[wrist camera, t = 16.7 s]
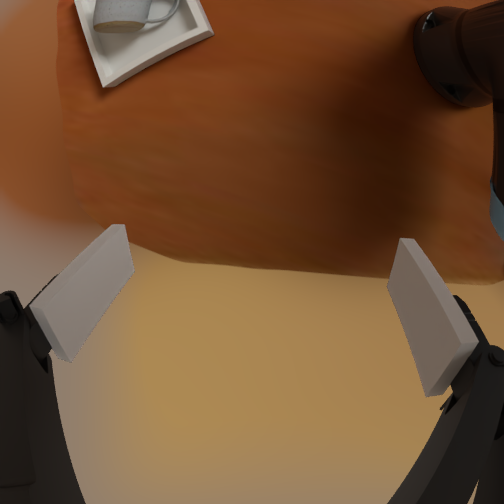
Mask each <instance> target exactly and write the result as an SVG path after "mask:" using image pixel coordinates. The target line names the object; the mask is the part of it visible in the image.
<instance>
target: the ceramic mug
mask: <svg viewBox="0 0 504 504" xmlns="http://www.w3.org/2000/svg"><path fill="white" fill-rule="evenodd" d="M179 1H180V0H175V1H174V4H173V6H172V8H171V9H170V10H169V13H168V14H167V15H166V16H165V17H162V18H160V19H150V20H149V19H148V15H149V11H150V6H151V3H152V0H96V4H95V10H94V15H93V28H94V30H95V31H96V32H99V33H128V32H135V31H139V30H140V29H142V28H143V27H144V26H145V24H146V23H151V24H154V23H159V22H163V21H166V20H167V19H169V18H170V17H172V16H173V15H174V14H175V12H176V11H177V9H178V6H179Z"/></svg>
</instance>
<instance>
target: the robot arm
mask: <svg viewBox="0 0 504 504" xmlns="http://www.w3.org/2000/svg"><path fill="white" fill-rule="evenodd" d="M413 43H414V51H415V55H416V58H417V61H418V64H419V66H420V68H421V70H422V72H423V74H424V76H425V77H426V79H427V80H428V82H429V83H430V84H431V86H432V87H433V88H434V89H435V90H436V91H437V92H438V93H439V94H440V95H442V96H443V97H444V98H446V99H447V100H449V101H451V102H453V103H455V104H458V105H461V106H467V107H482V106H486V105H488V104H490V103H492V102H493V124H494V151H493V168H492V176H491V179H490V188H491V199H490V218H491V222H492V224H493V226H494V227H495V230H496V232H497V233H498V235H499V236H500V238H501V239H502V240H503V241H504V0H497V1H494V2H490V3H487V4H484V5H481V6H478V7H475V8H472V9H463V8H456V7H449V6H445V7H438V8H435V9H433V10H431V11H429V12H427V13H425V14H424V15H423V16H422V17H421V18H420V19H419V20H418V22H417V24H416V26H415V30H414V36H413ZM134 272H135V270H134V266H133V261H132V257H131V252H130V248H129V243H128V238H127V234H126V229H125V224H112V225H111V226H110V227H109V228H107V229H106V230H105V231H104V232H103V233H102V234H101V235H100V236H99V237H97V238H96V239H95V240H94V241H93V242H92V243H91V244H90V245H89V246H88V247H86V248H85V249H84V250H83V251H82V252H81V253H80V254H79V255H78V256H77V257H76V258H75V259H74V260H73V261H72V262H71V263H70V264H69V265H68V266H67V267H66V268H65V269H64V270H63V271H62V272H61V273H59V274H58V275H56V276H55V277H53V279H51V281H50V282H49V283H48V284H47V285H46V286H45V287H44V288H43V289H42V291H40V292H39V293H38V294H37V295H36V296H35V297H34V299H32V301H31V302H30V303H29V304H28V305H27V306H26V307H25V308H24V309H23V307H22V305H21V303H20V301H19V299H18V297H17V294H16V293H15V292H14V291H6V292H3V293H2V294H0V504H86V503H85V501H84V498H83V496H82V493H81V490H80V487H79V484H78V482H77V479H76V476H75V473H74V469H73V467H72V463H71V459H70V456H69V452H68V449H67V445H66V441H65V437H64V433H63V428H62V424H61V419H60V414H59V409H58V403H57V397H56V391H55V385H54V377H53V369H52V360H51V357H50V356H49V354H48V353H49V352H50V350H51V349H53V351H54V352H55V354H56V356H57V357H58V358H59V359H61V360H64V361H67V362H70V363H71V362H72V361H73V359H74V358H75V356H76V355H77V353H78V352H79V350H80V348H81V347H82V345H83V344H84V342H85V341H86V339H87V338H88V336H89V335H90V333H91V332H92V330H93V329H94V327H95V326H96V324H97V323H98V322H99V320H100V319H101V317H102V316H103V314H104V313H105V311H106V310H107V309H108V307H109V306H110V304H111V303H112V301H113V300H114V299H115V298H116V296H117V295H118V293H119V292H120V291H121V289H122V288H123V286H124V285H125V284H126V283H127V281H128V280H129V279H130V277H131V276H132V275H133V273H134ZM387 288H388V291H389V293H390V296H391V298H392V301H393V303H394V305H395V308H396V311H397V313H398V316H399V318H400V321H401V324H402V326H403V329H404V332H405V334H406V337H407V339H408V342H409V345H410V348H411V351H412V354H413V357H414V360H415V363H416V366H417V370H418V373H419V376H420V379H421V383H422V386H423V389H424V392H425V396H426V397H429V396H436V395H442V394H443V393H444V392H445V391H446V389H447V388H448V387H449V385H451V387H452V390H453V393H452V394H451V396H450V397H449V398H448V399H447V400H446V402H445V403H444V404H443V405H442V407H441V408H440V410H442V409H443V408H444V410H443V412H442V414H441V416H440V418H439V420H438V422H437V424H436V426H435V428H434V430H433V432H432V434H431V436H430V438H429V440H428V442H427V443H426V445H425V447H424V449H423V450H422V452H421V454H420V456H419V457H418V459H417V461H416V462H415V464H414V465H413V467H412V469H411V470H410V472H409V473H408V475H407V476H406V478H405V479H404V481H403V482H402V484H401V485H400V487H399V488H398V490H397V491H396V492H395V494H394V495H393V497H392V498H391V499H390V501H389V502H388V503H387V504H467V503H468V501H469V499H470V497H471V495H472V493H473V491H474V488H475V486H476V484H477V482H478V480H479V482H478V486H477V490H476V494H475V498H474V502H473V504H504V350H503V349H501V348H499V347H498V346H495V345H490V344H489V343H488V341H487V339H486V337H485V335H484V333H483V332H482V330H481V328H480V326H479V325H478V323H477V321H475V318H474V316H473V315H472V314H471V311H470V309H469V308H468V306H467V305H466V303H465V302H464V301H463V300H462V299H460V298H459V297H458V296H457V295H452V294H451V292H450V291H449V289H448V287H447V286H446V284H445V283H444V281H443V280H442V278H441V277H440V275H439V274H438V272H437V271H436V269H435V268H434V266H433V265H432V263H431V262H430V261H429V259H428V258H427V256H426V255H425V253H424V252H423V251H422V249H421V248H420V246H419V245H418V244H417V242H416V241H415V240H414V239H408V238H400V240H399V244H398V248H397V252H396V256H395V260H394V263H393V267H392V271H391V274H390V278H389V281H388V285H387Z"/></svg>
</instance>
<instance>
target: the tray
mask: <svg viewBox="0 0 504 504" xmlns="http://www.w3.org/2000/svg"><path fill="white" fill-rule="evenodd" d="M74 1H75V5H76V8H77V12H78V15H79V18H80V22H81V25H82V28H83V31H84V34H85V38H86V41H87V44H88V47H89V50H90V52H91V55H92V58H93V61H94V64H95V67H96V70H97V72H98V75H99V78H100V80H101V83H102V86H103V87H115V86H117V85H118V84H120V83H121V82H123V81H125V80H126V79H128V78H129V77H131V76H133V75H134V74H136V73H138V72H140V71H141V70H143V69H145V68H147V67H148V66H150V65H152V64H154V63H156V62H158V61H159V60H161V59H163V58H165V57H167V56H169V55H171V54H173V53H175V52H177V51H179V50H181V49H183V48H185V47H188V46H190V45H192V44H194V43H196V42H199V41H201V40H203V39H206V38H208V37H210V36H213V35H214V33H213V30H212V28H211V26H210V23H209V21H208V19H207V17H206V14H205V12H204V10H203V8H202V6H201V3H200V1H199V0H180V1H179V6H178V9H177V11H176V12H175V14H174V15H173V16H172V17H170V18H169V19H167V20H166V21H163V22H159V23H154V24H151V23H146V24H145V26H144V27H143V28H142V29H140V30H139V31H135V32H128V33H99V32H96V31H95V30H94V28H93V15H94V10H95V4H96V0H74ZM174 1H175V0H152V3H151V6H150V11H149V15H148V19H149V20H150V19H160V18H162V17H165V16H166V15H167V14H168V13H169V10H170V9H171V8H172V6H173V4H174Z"/></svg>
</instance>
